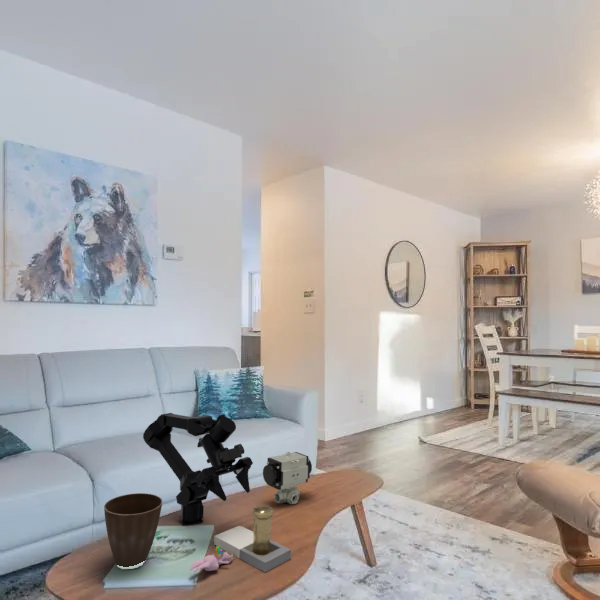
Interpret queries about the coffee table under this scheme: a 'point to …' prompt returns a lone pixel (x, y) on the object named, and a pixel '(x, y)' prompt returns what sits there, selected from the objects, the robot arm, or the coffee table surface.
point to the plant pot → (132, 526)
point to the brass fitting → (262, 530)
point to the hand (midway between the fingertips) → (237, 496)
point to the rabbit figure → (213, 561)
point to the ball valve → (287, 475)
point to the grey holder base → (242, 545)
